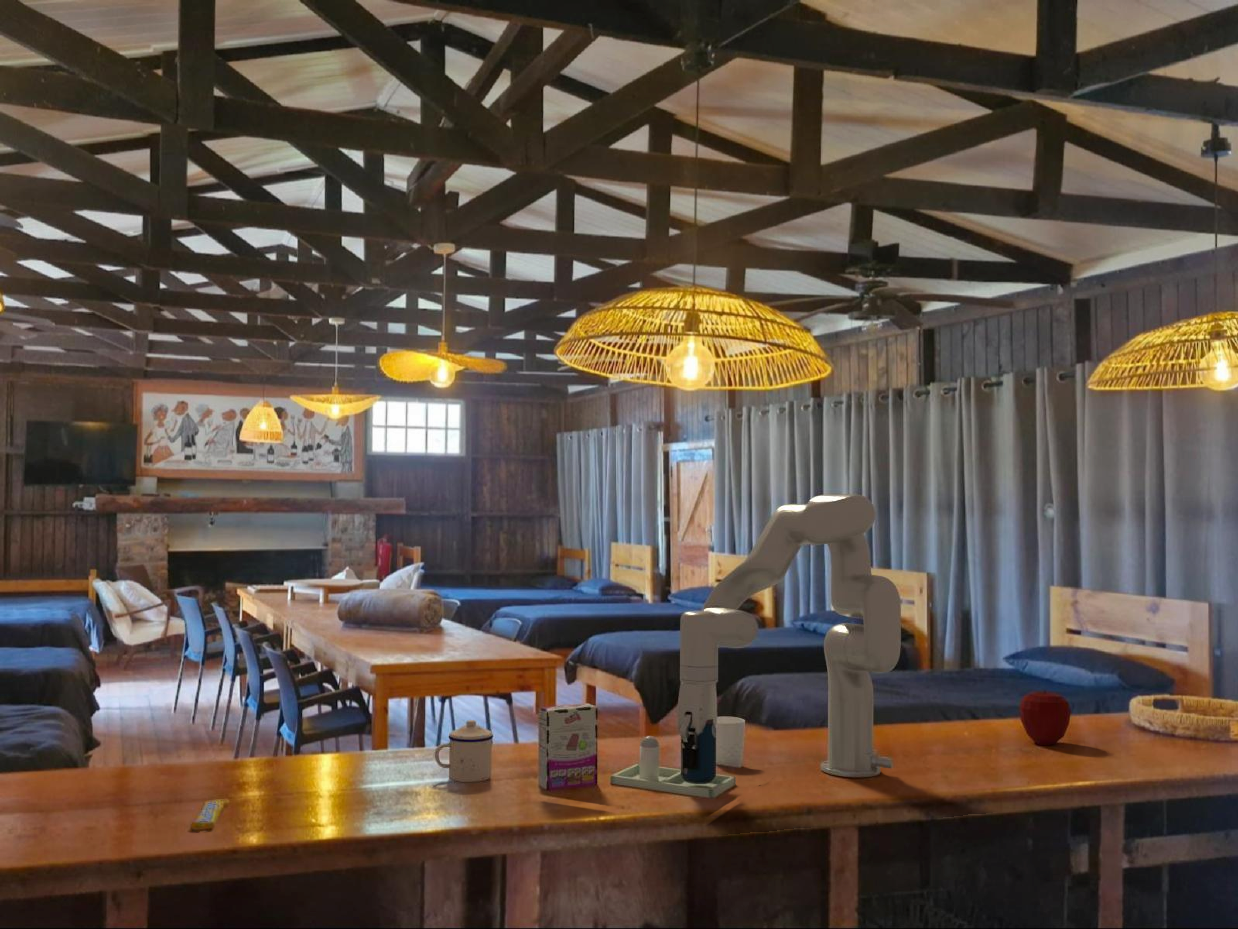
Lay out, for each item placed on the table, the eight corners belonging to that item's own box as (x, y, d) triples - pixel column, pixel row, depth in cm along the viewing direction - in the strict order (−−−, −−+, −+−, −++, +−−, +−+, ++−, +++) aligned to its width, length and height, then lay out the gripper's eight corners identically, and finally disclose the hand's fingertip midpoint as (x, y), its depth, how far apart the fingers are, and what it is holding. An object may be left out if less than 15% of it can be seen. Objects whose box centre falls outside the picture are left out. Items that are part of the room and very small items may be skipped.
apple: (1079, 749, 257) (1079, 693, 257) (1030, 748, 257) (1030, 692, 257) (1059, 738, 269) (1059, 685, 269) (1012, 737, 269) (1012, 684, 269)
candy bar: (214, 833, 183) (214, 822, 183) (187, 834, 182) (188, 823, 182) (229, 806, 199) (229, 796, 199) (205, 807, 198) (205, 797, 198)
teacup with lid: (485, 771, 227) (486, 715, 228) (497, 781, 219) (498, 723, 219) (429, 775, 223) (430, 719, 223) (439, 786, 214) (440, 727, 215)
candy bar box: (587, 783, 218) (588, 702, 218) (598, 789, 213) (599, 706, 214) (536, 789, 212) (537, 706, 213) (546, 795, 208) (547, 710, 209)
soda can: (721, 779, 213) (722, 718, 214) (705, 787, 207) (705, 724, 208) (691, 774, 217) (691, 714, 217) (674, 781, 211) (674, 720, 212)
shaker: (662, 779, 218) (662, 735, 218) (653, 784, 214) (654, 739, 214) (644, 777, 219) (645, 733, 220) (635, 781, 216) (636, 736, 216)
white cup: (743, 771, 230) (743, 724, 230) (706, 769, 232) (706, 722, 232) (746, 763, 238) (746, 717, 238) (710, 760, 239) (711, 715, 240)
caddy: (735, 789, 215) (735, 776, 215) (712, 803, 204) (712, 790, 204) (636, 775, 225) (637, 763, 225) (610, 788, 214) (610, 775, 214)
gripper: (698, 667, 222) (698, 754, 222) (663, 678, 207) (662, 771, 206) (732, 669, 219) (732, 758, 218) (699, 681, 204) (698, 776, 203)
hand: (698, 764), depth 212 cm, fingers closed on soda can, 6 cm apart
